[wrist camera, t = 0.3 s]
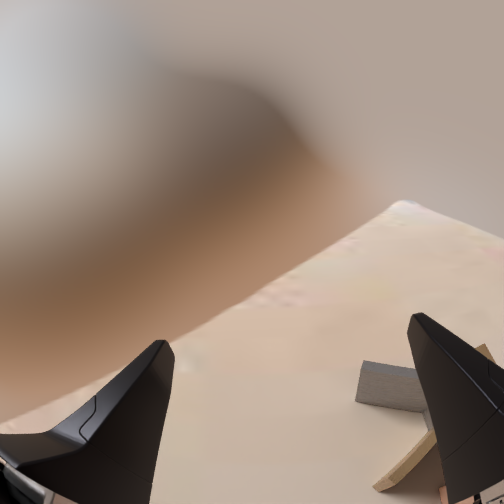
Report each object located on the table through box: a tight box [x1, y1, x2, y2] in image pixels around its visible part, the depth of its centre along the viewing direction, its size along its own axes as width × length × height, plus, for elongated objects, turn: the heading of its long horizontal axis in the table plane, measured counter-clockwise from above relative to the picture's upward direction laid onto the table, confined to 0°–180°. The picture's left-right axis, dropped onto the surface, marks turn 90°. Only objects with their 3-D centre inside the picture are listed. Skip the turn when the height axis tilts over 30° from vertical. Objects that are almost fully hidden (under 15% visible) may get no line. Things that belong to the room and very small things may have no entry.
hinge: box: [355, 343, 496, 492], centre depth 15 cm, size 10×11×6 cm
